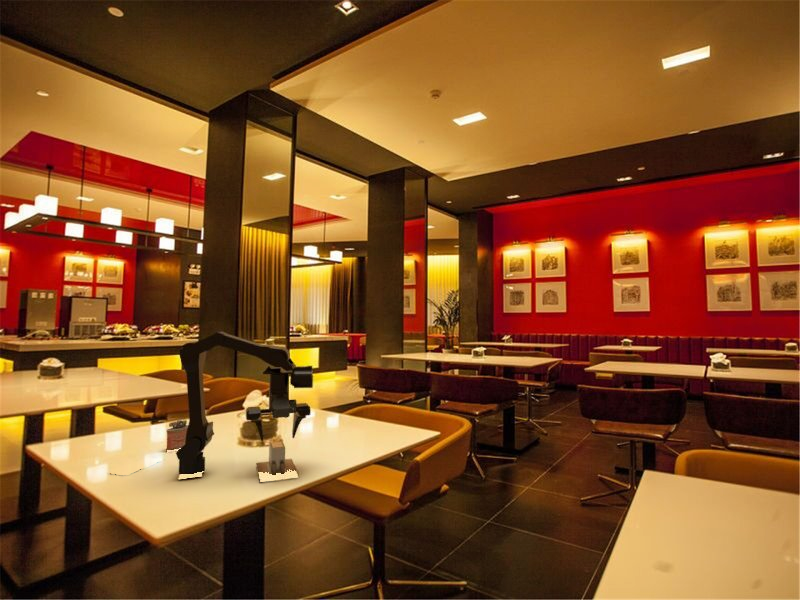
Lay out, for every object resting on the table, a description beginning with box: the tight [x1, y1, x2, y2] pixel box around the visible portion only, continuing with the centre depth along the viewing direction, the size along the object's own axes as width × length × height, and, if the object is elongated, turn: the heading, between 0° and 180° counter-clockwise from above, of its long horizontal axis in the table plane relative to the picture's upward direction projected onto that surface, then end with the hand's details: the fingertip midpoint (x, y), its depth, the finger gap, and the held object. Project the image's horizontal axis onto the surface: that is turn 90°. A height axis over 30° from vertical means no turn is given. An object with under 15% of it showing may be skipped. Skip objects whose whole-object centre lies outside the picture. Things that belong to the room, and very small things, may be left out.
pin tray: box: [255, 458, 298, 475], centre depth 130 cm, size 11×14×4 cm
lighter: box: [165, 419, 188, 451], centre depth 150 cm, size 8×3×10 cm, turn 149°
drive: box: [268, 440, 286, 473], centre depth 130 cm, size 4×7×7 cm, turn 22°
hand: (277, 439), depth 130 cm, fingers open, 9 cm apart
